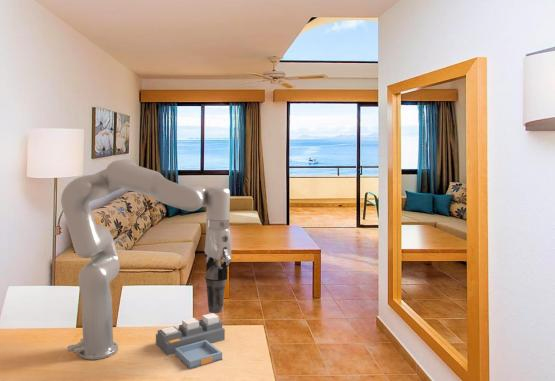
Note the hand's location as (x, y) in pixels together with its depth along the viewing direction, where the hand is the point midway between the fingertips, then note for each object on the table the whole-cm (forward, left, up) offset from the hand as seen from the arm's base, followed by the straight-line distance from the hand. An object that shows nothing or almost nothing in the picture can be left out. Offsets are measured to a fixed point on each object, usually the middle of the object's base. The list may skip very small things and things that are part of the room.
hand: (216, 276), depth 156 cm
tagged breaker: (-11, +13, -23) cm, 29 cm away
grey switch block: (-3, +13, -27) cm, 30 cm away
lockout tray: (-6, +1, -27) cm, 28 cm away
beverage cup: (0, 0, -12) cm, 12 cm away
